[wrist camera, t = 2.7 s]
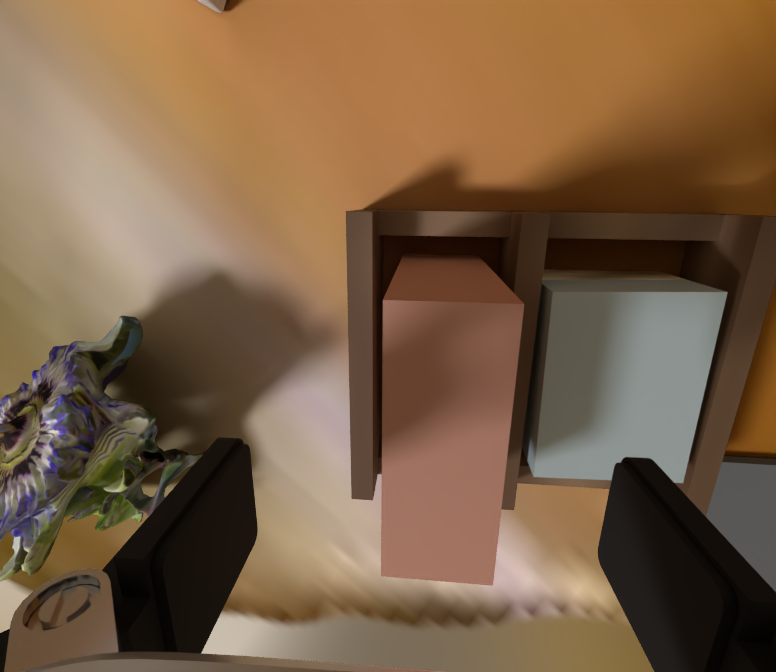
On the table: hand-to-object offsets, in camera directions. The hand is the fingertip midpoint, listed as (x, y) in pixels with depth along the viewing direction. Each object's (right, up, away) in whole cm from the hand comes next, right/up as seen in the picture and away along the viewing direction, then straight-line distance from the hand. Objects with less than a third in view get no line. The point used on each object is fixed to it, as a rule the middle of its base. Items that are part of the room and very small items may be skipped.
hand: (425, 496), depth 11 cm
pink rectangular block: (+1, +4, +11) cm, 11 cm away
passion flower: (-14, 0, +14) cm, 20 cm away
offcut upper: (+8, +3, +8) cm, 12 cm away
